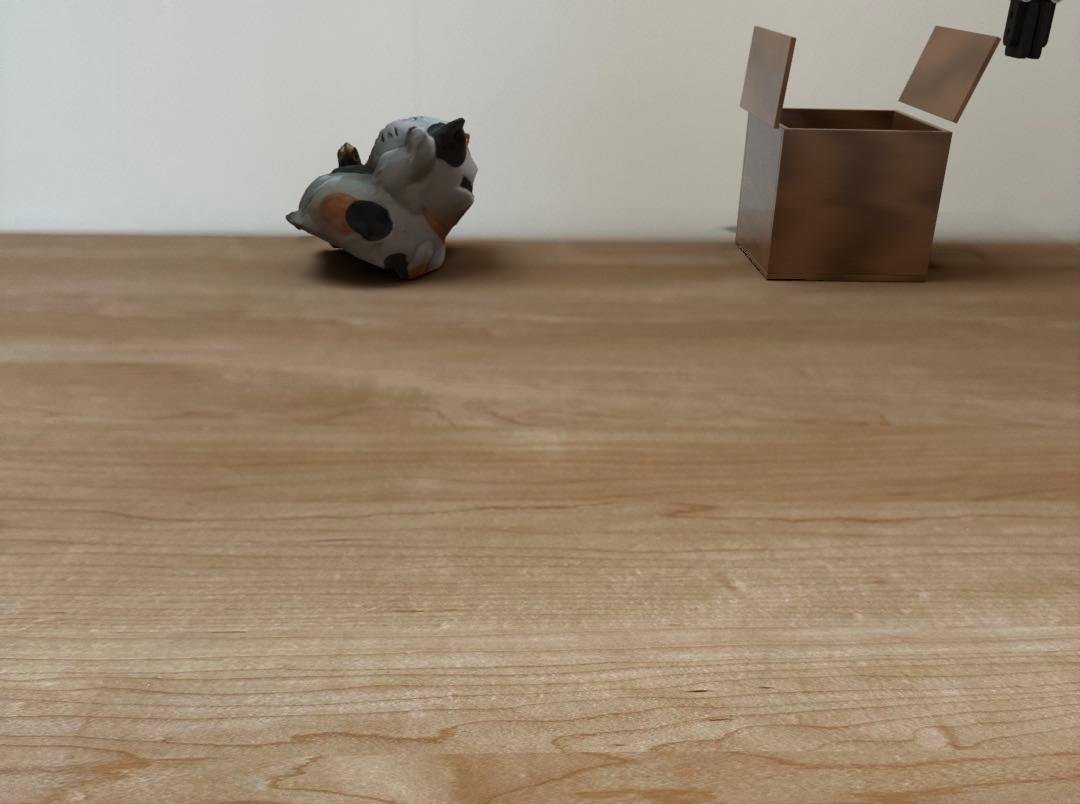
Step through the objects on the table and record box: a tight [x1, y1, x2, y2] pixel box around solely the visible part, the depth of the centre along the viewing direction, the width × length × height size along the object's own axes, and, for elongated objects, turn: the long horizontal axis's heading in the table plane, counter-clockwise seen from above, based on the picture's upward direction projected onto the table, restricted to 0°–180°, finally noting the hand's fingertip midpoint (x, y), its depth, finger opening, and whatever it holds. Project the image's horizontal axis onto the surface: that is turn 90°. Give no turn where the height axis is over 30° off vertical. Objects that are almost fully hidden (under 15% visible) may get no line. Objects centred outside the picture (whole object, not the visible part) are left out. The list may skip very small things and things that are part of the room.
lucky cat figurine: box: [285, 115, 479, 280], centre depth 90 cm, size 15×12×14 cm
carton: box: [734, 25, 954, 283], centre depth 93 cm, size 14×13×18 cm
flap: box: [897, 25, 1002, 124], centre depth 90 cm, size 6×13×1 cm
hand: (1021, 56), depth 90 cm, fingers closed
